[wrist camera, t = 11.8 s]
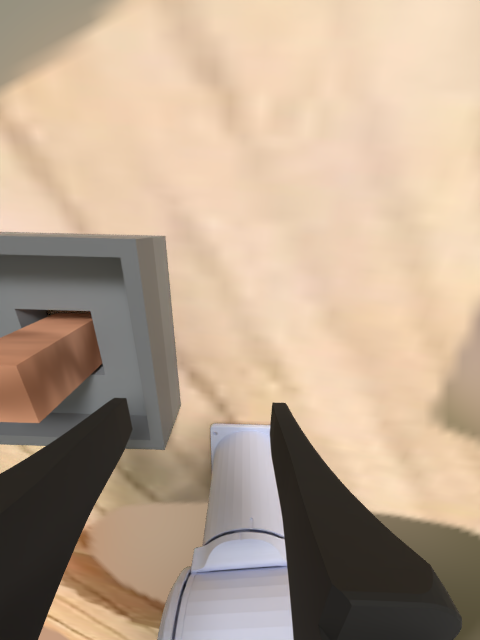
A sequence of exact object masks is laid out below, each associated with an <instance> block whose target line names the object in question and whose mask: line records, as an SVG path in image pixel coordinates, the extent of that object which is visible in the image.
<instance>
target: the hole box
mask: <svg viewBox="0 0 480 640" xmlns="http://www.w3.org/2000/svg"><path fill="white" fill-rule="evenodd" d="M46 310H73V311H90V312H91V316H92V320H93V325H94V329H95V333H96V337H97V342H98V346H99V350H100V355H101V359H102V364H101V365H100V366H99V367H98V368H97V369H96V370H95V371H94V372H93V373H92V374H91V375H90V376H89V377H87V378H86V379H85V380H84V381H83V382H82V383H81V384H80V385H79V386H78V387H77V388H76V389H75V390H74V391H73V392H72V393H71V394H70V395H68V396H67V397H66V398H65V399H64V400H63V401H62V402H61V403H60V404H59V405H58V406H57V407H56V408H55V409H54V410H53V411H52V412H51V413H50V414H48V415H47V416H46V417H45V418H44V419H43V420H42V421H41V422H40V423H18V422H0V444H7V445H37V446H47V445H48V444H50V443H51V442H53V441H54V440H56V439H57V438H59V437H60V436H62V435H63V434H65V433H66V432H68V431H69V430H70V429H72V428H73V427H75V426H76V425H77V424H79V423H80V422H81V421H83V420H84V419H85V418H87V417H88V416H90V415H91V414H92V413H94V412H95V411H96V410H98V409H99V408H100V407H102V406H103V405H104V404H106V403H107V402H109V401H110V400H111V399H113V398H126V399H127V404H128V409H129V413H130V418H131V423H132V428H133V430H132V432H131V435H130V438H129V440H128V443H127V445H126V447H125V448H126V449H156V450H165V447H166V445H167V442H168V439H169V436H170V434H171V431H172V428H173V425H174V423H175V420H176V417H177V414H178V412H179V409H180V406H181V402H180V392H179V381H178V370H177V359H176V349H175V338H174V327H173V316H172V306H171V295H170V284H169V273H168V262H167V252H166V241H165V236H140V235H100V234H60V233H19V232H0V338H1V337H3V336H6V335H8V334H10V333H12V332H14V331H17V330H19V329H21V328H23V327H26V326H28V325H30V324H32V323H35V322H37V321H39V320H41V319H44V318H46V317H48V315H47V312H46Z"/></svg>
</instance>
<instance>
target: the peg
mask: <svg viewBox="0 0 480 640" xmlns="http://www.w3.org/2000/svg"><path fill="white" fill-rule="evenodd" d="M101 364H102V359H101V355H100V350H99V346H98V342H97V337H96V333H95V329H94V325H93V320H92V316H91V313H55V314H52V315H50V316H48V317H46V318H44V319H41V320H39V321H37V322H35V323H32V324H30V325H28V326H26V327H23V328H21V329H19V330H17V331H14V332H12V333H10V334H8V335H6V336H3V337H1V338H0V422H18V423H40V422H41V421H42V420H43V419H44V418H45V417H46V416H47V415H48V414H50V413H51V412H52V411H53V410H54V409H55V408H56V407H57V406H58V405H59V404H60V403H61V402H62V401H63V400H64V399H65V398H66V397H67V396H68V395H70V394H71V393H72V392H73V391H74V390H75V389H76V388H77V387H78V386H79V385H80V384H81V383H82V382H83V381H84V380H85V379H86V378H87V377H89V376H90V375H91V374H92V373H93V372H94V371H95V370H96V369H97V368H98V367H99V366H100V365H101Z"/></svg>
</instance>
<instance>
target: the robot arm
mask: <svg viewBox="0 0 480 640" xmlns="http://www.w3.org/2000/svg"><path fill="white" fill-rule="evenodd" d="M132 430H133V428H132V423H131V418H130V413H129V409H128V404H127V399H126V398H113V399H111V400H110V401H109V402H107V403H106V404H104V405H103V406H102V407H100V408H99V409H98V410H96V411H95V412H94V413H92V414H91V415H90V416H88V417H87V418H85V419H84V420H83V421H81V422H80V423H79V424H77V425H76V426H75V427H73V428H72V429H70V430H69V431H68V432H66V433H65V434H63V435H62V436H60V437H59V438H57V439H56V440H54V441H53V442H51V443H50V444H48V445H47V446H46V447H44V448H43V449H41V450H39V451H38V452H36V453H35V454H33V455H31V456H30V457H28V458H27V459H25V460H23V461H22V462H20V463H18V464H17V465H15V466H13V467H12V468H10V469H8V470H6V471H5V472H3V473H1V474H0V640H38V638H39V635H40V633H41V630H42V627H43V625H44V622H45V619H46V617H47V614H48V611H49V609H50V607H51V604H52V602H53V599H54V597H55V594H56V592H57V589H58V587H59V584H60V582H61V579H62V577H63V574H64V572H65V569H66V567H67V565H68V562H69V560H70V558H71V555H72V553H73V551H74V548H75V546H76V544H77V541H78V539H79V537H80V535H81V532H82V530H83V528H84V526H85V524H86V521H87V519H88V517H89V515H90V513H91V511H92V509H93V507H94V505H95V503H96V501H97V499H98V497H99V496H100V494H101V492H102V490H103V488H104V487H105V485H106V483H107V481H108V479H109V478H110V476H111V474H112V472H113V470H114V468H115V467H116V465H117V463H118V461H119V459H120V457H121V456H122V454H123V452H124V450H125V447H126V445H127V443H128V440H129V438H130V435H131V432H132ZM210 433H211V462H212V479H211V486H210V494H209V501H208V509H207V517H206V524H205V532H204V539H203V546H202V547H197V548H195V549H194V554H193V560H192V566H191V567H186V568H184V569H183V570H182V572H181V573H180V575H179V576H178V578H177V580H176V582H175V583H174V585H173V587H172V588H171V591H170V593H169V595H168V598H167V601H166V604H165V607H164V611H163V615H162V619H161V623H160V628H159V633H158V638H157V640H453V639H454V638H455V637H456V636H457V635H458V633H459V632H460V630H461V627H462V618H461V616H460V614H459V612H458V610H457V608H456V607H455V605H454V603H453V601H452V600H451V598H450V596H449V594H448V592H447V591H446V589H445V587H444V586H443V584H442V583H441V581H440V580H439V578H438V577H437V575H436V573H435V572H434V570H433V569H432V567H431V565H430V564H428V563H427V562H426V561H425V560H424V559H423V558H421V557H420V556H419V555H418V554H416V553H415V552H414V551H413V550H412V549H411V548H409V547H408V546H407V545H406V544H405V543H404V542H402V541H401V540H400V539H399V538H398V537H396V536H395V535H394V534H393V533H392V532H391V531H390V530H389V529H388V528H387V527H385V526H384V525H383V524H382V523H381V522H380V521H379V520H378V519H377V518H376V517H375V516H374V515H373V514H372V513H371V512H370V511H369V510H368V509H367V508H366V507H365V506H364V505H363V504H362V503H361V502H360V501H359V500H358V499H357V498H356V497H355V496H354V495H353V494H352V493H351V492H350V491H349V490H348V489H347V488H346V487H345V485H344V484H343V483H342V482H341V481H340V480H339V479H338V478H337V476H336V475H335V474H334V473H333V472H332V471H331V469H330V468H329V467H328V466H327V464H326V463H325V462H324V461H323V459H322V458H321V457H320V455H319V454H318V453H317V451H316V450H315V449H314V447H313V446H312V445H311V443H310V442H309V440H308V439H307V437H306V436H305V434H304V433H303V431H302V430H301V428H300V427H299V425H298V423H297V422H296V420H295V419H294V417H293V415H292V413H291V412H290V410H289V408H288V406H287V405H286V403H273V404H272V414H271V425H248V424H218V423H215V424H212V425H211V429H210Z"/></svg>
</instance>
